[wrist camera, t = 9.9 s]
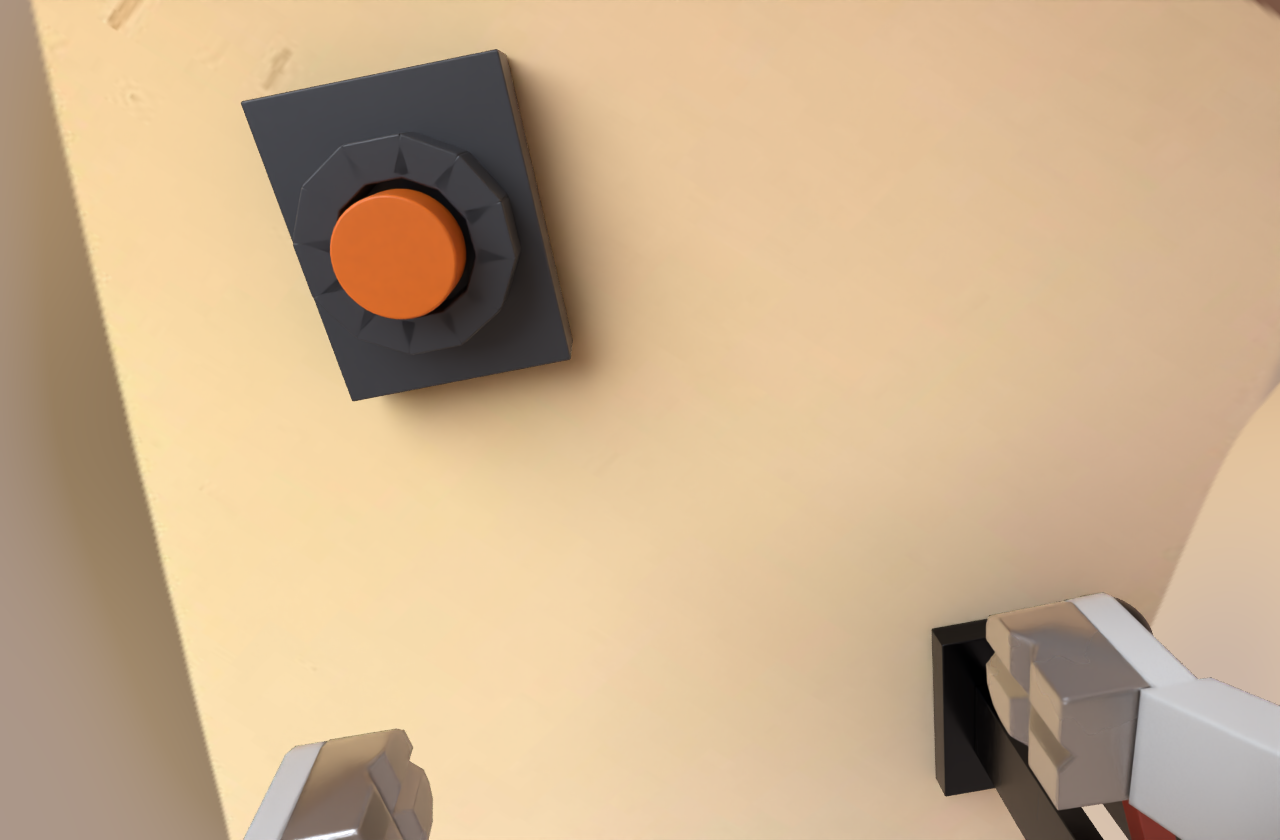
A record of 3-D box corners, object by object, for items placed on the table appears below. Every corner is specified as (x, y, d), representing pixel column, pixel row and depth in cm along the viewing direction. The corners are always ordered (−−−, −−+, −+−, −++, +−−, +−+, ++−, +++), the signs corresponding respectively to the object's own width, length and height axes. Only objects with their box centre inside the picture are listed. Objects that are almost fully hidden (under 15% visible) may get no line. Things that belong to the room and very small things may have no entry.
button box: (269, 102, 24) (209, 101, 20) (506, 53, 24) (489, 43, 20) (369, 381, 28) (334, 422, 24) (573, 341, 28) (569, 377, 24)
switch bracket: (931, 628, 34) (1105, 901, 22) (1100, 597, 34) (1365, 856, 22) (935, 777, 38) (1084, 1075, 26) (1086, 750, 38) (1305, 1039, 26)
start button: (331, 200, 22) (310, 208, 20) (448, 177, 22) (435, 183, 20) (370, 315, 23) (353, 330, 22) (480, 293, 23) (471, 307, 22)
